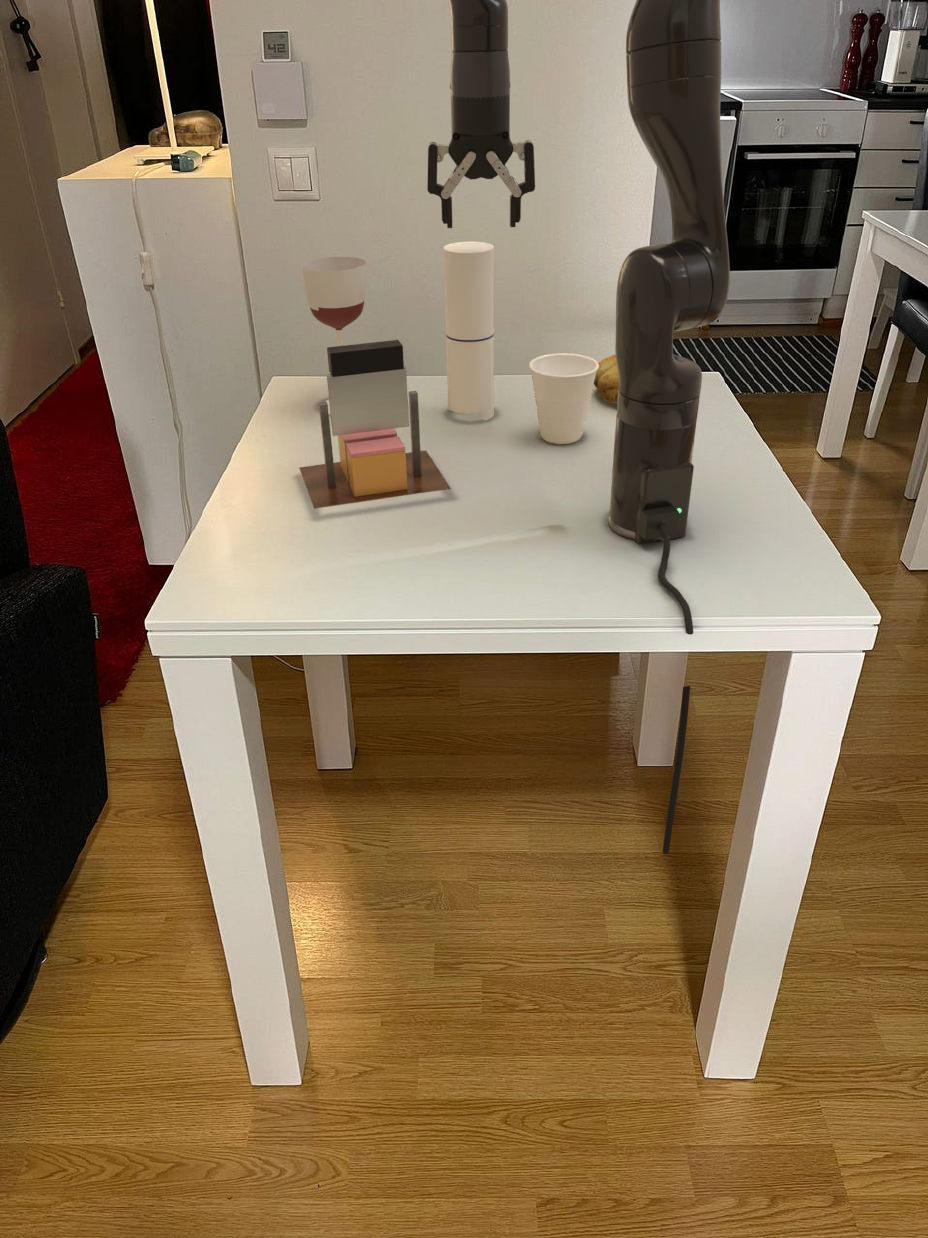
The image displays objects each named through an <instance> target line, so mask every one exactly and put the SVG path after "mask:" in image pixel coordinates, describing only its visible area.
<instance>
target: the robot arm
mask: <svg viewBox="0 0 928 1238" xmlns="http://www.w3.org/2000/svg"><path fill="white" fill-rule="evenodd" d="M447 2H448V7H449V12H450V31H451V34H450V35H451V60H450V69H449V72H450V73H449V79H450V81H449V89H450V119H451V121H450V122H451V123H450V124H451V127H450V128H451V139H450V142H449V144H445V143H444V144H442V143H437V142H435V141H431V142H429V144H428V147H427V187H426V188H427V189H426V190H427V192H428V193H429V195H435V196H437V197H439V199H440V201H441V221H442V223H443V225H446V228H447V229H453V197H452V196H451V195H452V194H453V192H455V189H456V188H457V186H458V185H459V184H460V182H461V181H462V180H463V178H464V177H465V178H467V179H469V180H478V179H485V180H494V178H496V177H499V178H500V179H501V181H502V182H503V183H504V185H505V187H507V189H508V190H509V192H510V193H511V194H510V195H509V227H510V228H516V225H517V223H520V222H521V217H522V216H521V215H522V197H523V196H524V195H526V194H528V193H532V192H534V191H535V189H536V173H535V171H536V170H535V146H534V144H533V141H532V140H531V139H526V140H525V141H523V142H520V141H519V142H512V140H511V137H510V136H511V135H510V130H511V129H510V125H511V124H510V123H511V122H510V121H511V120H510V117H511V116H510V115H511V114H510V113H511V112H510V111H511V110H510V109H511V98H510V97H511V67H510V59H509V50H508V49H509V6H508V2H507V0H447ZM721 23H722V22H721V0H636V1H635V3H634V6H633V8H632V11H631V15H630V17H629V21H628V25H627V30H626V35H625V36H626V37H625V62H626V65H625V66H626V88H627V90H626V93H627V104H628V109H629V113H630V117H631V118H632V119H631V120H632V121H633V124H634V126H635V129H636V131H637V133H638V134H639V136H640V139H641V141H642V143H643V144H644V146H645V148H646V150H647V152H648V154H649V155H650V157H651V159H652V160H653V162H654V164H655V166H656V167H657V169H658V172H659V173H660V175H661V178H662V180H663V183H664V185H665V188H666V192H667V195H668V202H669V207H670V217H671V241H670V242H664V243H657V244H652V245H651V244H650V245H645V246H642V247H638V248H635V249H634V250H632V251H631V252H630V253H629V254H628V255H627V256H626V257H625V259H624V260H623V262H622V264H621V267H620V270H619V273H618V277H617V278H618V279H617V282H616V283H617V286H616V293H615V294H616V297H615V346H614V347H615V348H614V349H615V350H614V355H615V357H616V364H617V368H618V373H619V390H618V403H616V404H617V405H616V419H615V430H614V443H613V455H612V456H613V458H612V459H613V460H612V471H611V485H610V499H609V500H610V502H609V511H608V517H607V523H608V526H609V528H611V530H612V531H614V532H615V533H616V534H618V535H620V536H622V537H625V538H628V539H632V540H634V541H636V542H637V543H638V544H648V543H653V542H660V541H662V545H663V546H662V554H661V559H660V563H659V564H660V565H659V568H658V571H657V577H658V578H657V579H658V581H659V583H660V584H661V586H663V588H665V590H667V591H668V592H669V593H671V594H672V595H673V597H674V598H675V600H676V601H677V603H678V604H679V606H680V608H681V610H682V614H683V619H684V627H685V633H686V635H690V636H691V635H693V634H694V624H693V617H692V612H691V608H690V605H689V603H688V602H687V600H686V599H685V598H684V596H683V594H682V593H681V592H680V590H678V589H677V587H676V586H675V585H673V584H672V583H670V582H669V580H668V579H667V576H666V572H667V568H668V562H669V558H670V554H671V542H670V540H671V539H677V538H683V537H686V534H687V525H688V519H689V518H688V517H689V510H690V502H691V494H692V485H693V477H694V469H695V466H694V464H693V463H692V462H693V453H694V445H695V436H696V429H697V420H698V414H699V405H700V397H701V391H702V383H703V382H702V381H703V370H702V369H701V367H700V365H699V364H698V363H696V362H694V361H693V360H691V359H689V358H688V357H687V358H686V357H684V356H681V355H678V354H674V333H676V332H680V331H681V332H682V331H686V330H691V329H695V328H700V327H703V326H707V325H710V324H712V323H714V322H715V321H716V320H717V319H718V318H719V317H720V316H721V314H722V313H723V311H724V309H725V307H726V304H727V301H728V297H729V290H730V283H731V282H730V281H731V274H730V273H731V271H730V270H731V269H730V254H729V242H728V232H727V221H726V213H725V212H726V211H725V202H724V189H723V173H722V172H723V171H722V168H723V167H722V140H721V139H722V135H721V134H722V133H721V132H722V131H721V95H722V94H721V91H722V41H721V40H722V32H721V31H722V25H721ZM513 153H516V154H517V157H518V159H519V160H520V161H523V170H524V181H522V182H520V183H518V181H516V179H515V177H514V176H513V175H512V173H511V171H510V170H509V169H508V167H507V165H506V164H507V163H508V161H509V160H510V159H511V157H512V156H513ZM446 154H448V155H449V157H450V158H451V160H452V161H453V162H454V164H455V167H454V169H453V171H452V172H451V173H450V175H449V177H448V179H447V180H446V181H445V183H444V185H443V184H440V183H438V163H441V162H443V161H444V157H445V156H446ZM681 693H682V694H681V705H680V715H679V725H678V726H679V727H678V735H677V744H676V752H675V760H674V767H673V774H672V781H671V788H670V794H669V802H668V808H667V816H666V823H665V829H664V838H663V845H662V853H663V854H664V855H668V854H670V848H671V841H672V833H673V828H674V827H673V826H674V819H675V812H676V806H677V800H678V792H679V786H680V780H681V773H682V766H683V758H684V752H685V744H686V736H687V735H686V734H687V726H688V716H689V706H690V695H691V694H690V693H691V685H686V686H682V691H681Z"/></svg>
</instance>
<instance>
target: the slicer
mask: <svg viewBox="0 0 928 1238" xmlns="http://www.w3.org/2000/svg"><path fill="white" fill-rule="evenodd" d="M408 409H409V428H410V443H411V445H410V447H411V452H405V453H406V472H407V489H406V490H399V491H392V492H385V493H378V494H371V495H365V496H358V497H355V496H354V494H353V492H352V490H351V487H350V484H349V482H348V481H347V479H346V476H345V474H344V472H343V470H342V468H341V464H340V461H337V462H334V453H333V445H332V444H333V443H332V435H331V434H332V431H331V425H330V424H331V421H330V414H329V412H328V404H327V402H325V401H319V402H318V410H319V418H320V419H319V421H320V430H321V438H322V449H323V458H324V459H323V460H324V463H323V464H314V465H308V466H307V465H306V466H300V467H298V468H299V471H300V474H301V476H302V479H303V482H304V485H305V488H306V490H307V493H308V496H309V499H310V501H311V504H312V507H313V509H320V508H321V509H323V508H328V507H334V506H342V505H349V504H356V503H363V502H369V501H376V500H377V501H378V500H383V499H389V498H398V497H404V496H411V495H417V494H425V493H431V492H437V491H445V490H452V487H451V486H450V484H449V483H448V482H447V480H446V478H445V477H444V476H443V474H442V473H441V470H440V469H439V468H438V466H437V465H436V463H435V462H434V460H433V459H432V457H431V456H430V454H429V452H428V450H421V432H420V431H421V430H420V411H419V410H420V409H419V393H418V391H417V390H411V391H410V390H409V391H408Z"/></svg>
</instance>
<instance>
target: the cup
mask: <svg viewBox="0 0 928 1238" xmlns="http://www.w3.org/2000/svg"><path fill="white" fill-rule="evenodd" d="M528 363H529V364H528V368H529V370H530V374H531V380H532V387H533V392H534V398H535V407H536V414H537V420H538V428H539V435H540V437H541V438H542V439H543V440H544V441H545V442H548V443H551V444H553V445H569V444H573V443H575V442H577V441H579V440H580V439H581V438H582V436H583V433H584V428H585V425H586V418H587V415H588V411H589V406H590V402H591V396H592V394H593V389H594V386H595V385H594V380H595V376H596V371H597V370H598V368H599V364H598V363H599V361H597V360H595V359H594V358H592V357H589V356H586V355H583V354H577V353H564V352H563V353H562V352H561V353H549V354H545V355H544V354H543V355H540V356H537V357H534V358H533V359H531V360H530V362H528Z"/></svg>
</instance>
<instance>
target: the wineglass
mask: <svg viewBox="0 0 928 1238" xmlns="http://www.w3.org/2000/svg"><path fill="white" fill-rule="evenodd" d="M300 269H301V278H302V283H303V288H304V291H305V292H304V293H305V296H306V300H307V302H308V306H309V310H310V312H311V314H312V316H313V317H314V318H315V319H316V320H317V321H318V322H319V323H321V324H323V325H326V326H328V327H331V328H333V329H335V331H336V340H337V346H344V339H343V329H345V328H346V327H347V326H349V325H351V324H352V323H353V322H355V321H357V319H359V317H360V316H361V315H362V313H363V310H364V307H365V299H366V290H367V289H366V288H367V287H366V286H367V267H366V260H365V259H363V258H359V257H354V256H327V257H319V258H314V259H310V260H307V261H304V262H303V263H301V265H300ZM324 402H327V404H328V412H329V415H330V404H329V399H328V400H324Z"/></svg>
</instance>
